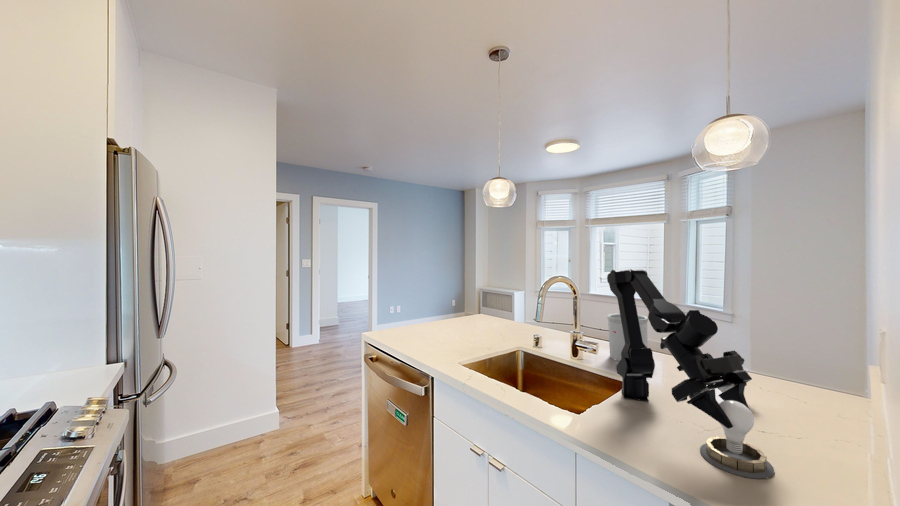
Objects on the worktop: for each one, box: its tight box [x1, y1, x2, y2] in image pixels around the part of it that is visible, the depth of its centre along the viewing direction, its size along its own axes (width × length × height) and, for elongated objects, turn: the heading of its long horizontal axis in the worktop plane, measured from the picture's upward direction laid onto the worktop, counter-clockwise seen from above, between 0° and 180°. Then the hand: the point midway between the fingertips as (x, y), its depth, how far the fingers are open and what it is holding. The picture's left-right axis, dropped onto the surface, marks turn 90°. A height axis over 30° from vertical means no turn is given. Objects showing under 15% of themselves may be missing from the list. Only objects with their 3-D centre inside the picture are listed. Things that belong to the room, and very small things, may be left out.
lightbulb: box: [718, 400, 755, 454], centre depth 73 cm, size 6×6×11 cm
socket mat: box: [699, 443, 775, 480], centre depth 73 cm, size 12×12×1 cm
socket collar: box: [705, 436, 768, 473], centre depth 73 cm, size 10×10×2 cm
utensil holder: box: [607, 312, 649, 363], centre depth 141 cm, size 15×15×18 cm
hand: (741, 424), depth 71 cm, fingers closed on lightbulb, 6 cm apart
